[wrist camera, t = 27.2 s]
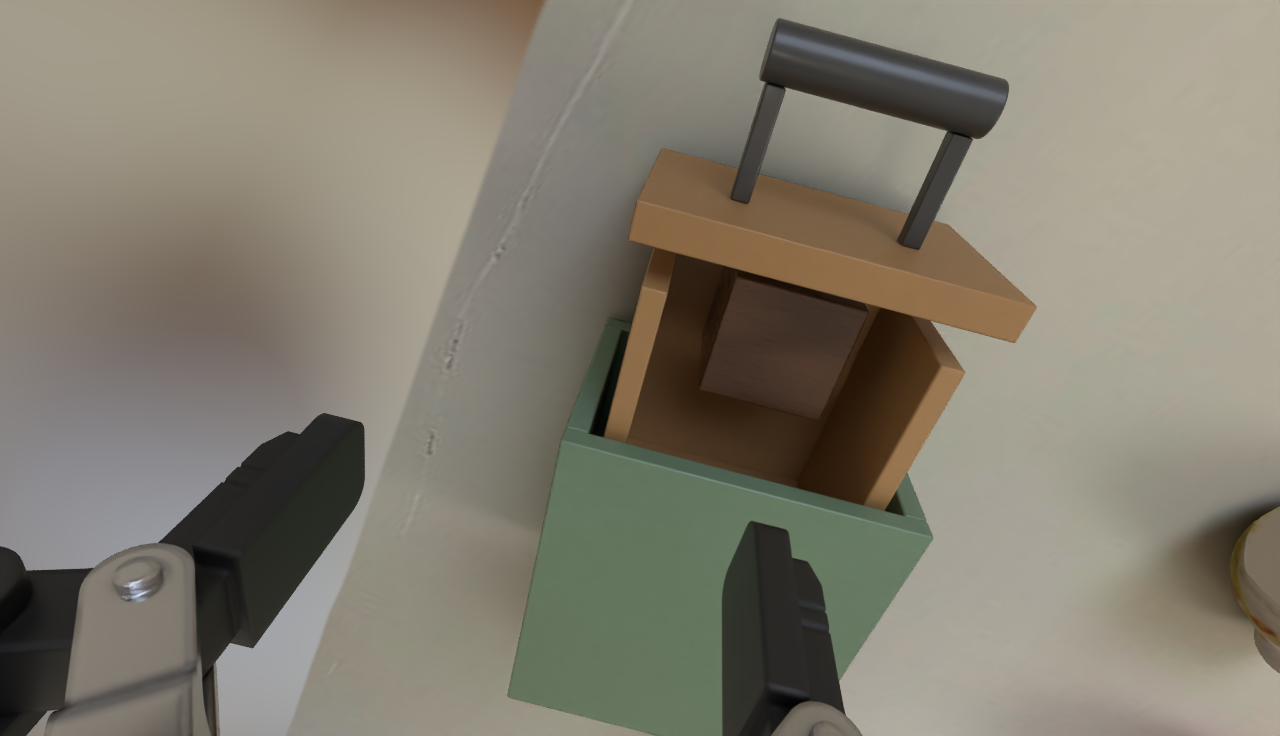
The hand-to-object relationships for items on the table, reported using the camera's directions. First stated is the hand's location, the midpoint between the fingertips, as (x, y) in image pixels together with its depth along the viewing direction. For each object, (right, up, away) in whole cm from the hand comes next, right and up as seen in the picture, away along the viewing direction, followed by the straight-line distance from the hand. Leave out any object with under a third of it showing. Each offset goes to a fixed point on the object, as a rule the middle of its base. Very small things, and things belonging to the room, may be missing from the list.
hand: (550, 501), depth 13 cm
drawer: (+7, +6, +13) cm, 16 cm away
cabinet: (+5, -3, +19) cm, 20 cm away
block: (+6, +2, +11) cm, 13 cm away
